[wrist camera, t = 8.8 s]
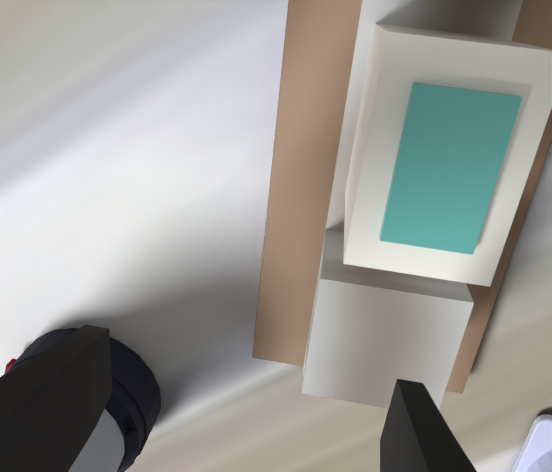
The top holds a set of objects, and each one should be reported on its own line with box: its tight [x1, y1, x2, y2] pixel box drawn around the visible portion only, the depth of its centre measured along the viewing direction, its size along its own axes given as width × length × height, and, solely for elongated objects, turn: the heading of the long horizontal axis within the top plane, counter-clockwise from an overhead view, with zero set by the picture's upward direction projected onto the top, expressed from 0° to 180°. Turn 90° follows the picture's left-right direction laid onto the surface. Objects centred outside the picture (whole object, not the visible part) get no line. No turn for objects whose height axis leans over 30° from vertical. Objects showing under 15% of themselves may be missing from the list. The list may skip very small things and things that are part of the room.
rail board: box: [252, 0, 552, 410], centre depth 17 cm, size 10×24×6 cm, turn 174°
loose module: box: [343, 23, 552, 287], centre depth 15 cm, size 4×6×6 cm, turn 174°
